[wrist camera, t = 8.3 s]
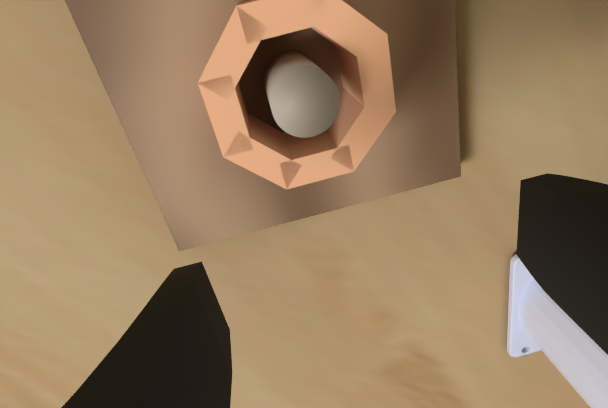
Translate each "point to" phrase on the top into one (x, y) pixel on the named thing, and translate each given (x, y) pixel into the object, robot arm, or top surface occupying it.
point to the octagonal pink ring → (353, 98)
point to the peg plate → (268, 108)
